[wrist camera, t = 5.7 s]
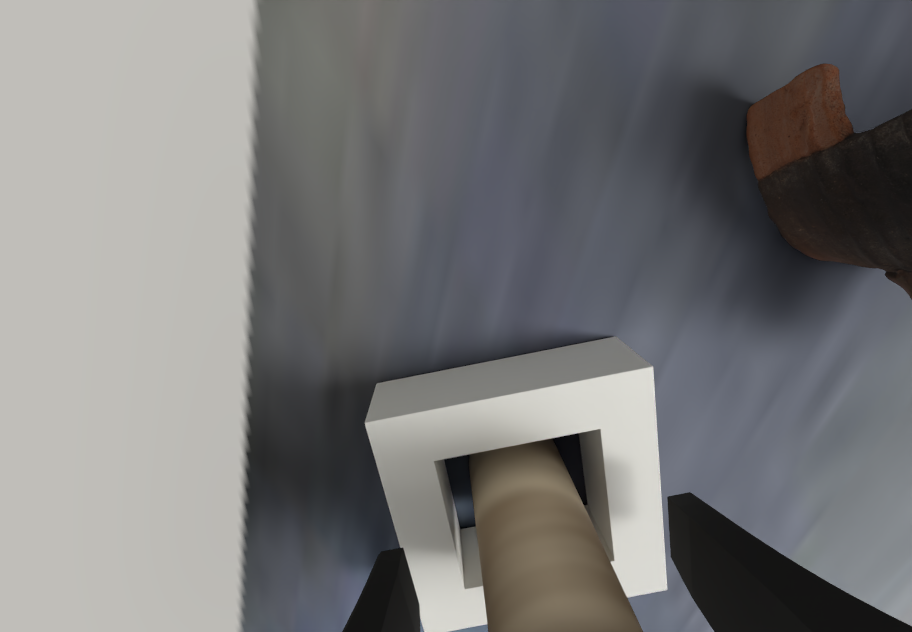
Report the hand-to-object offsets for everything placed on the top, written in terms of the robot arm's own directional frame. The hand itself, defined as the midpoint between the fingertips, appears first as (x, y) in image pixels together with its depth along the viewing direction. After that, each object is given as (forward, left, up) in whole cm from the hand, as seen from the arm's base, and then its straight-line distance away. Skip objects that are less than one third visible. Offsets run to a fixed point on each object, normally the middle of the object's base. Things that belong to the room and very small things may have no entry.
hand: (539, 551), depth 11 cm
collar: (0, 0, -4) cm, 4 cm away
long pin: (0, 0, -4) cm, 4 cm away
